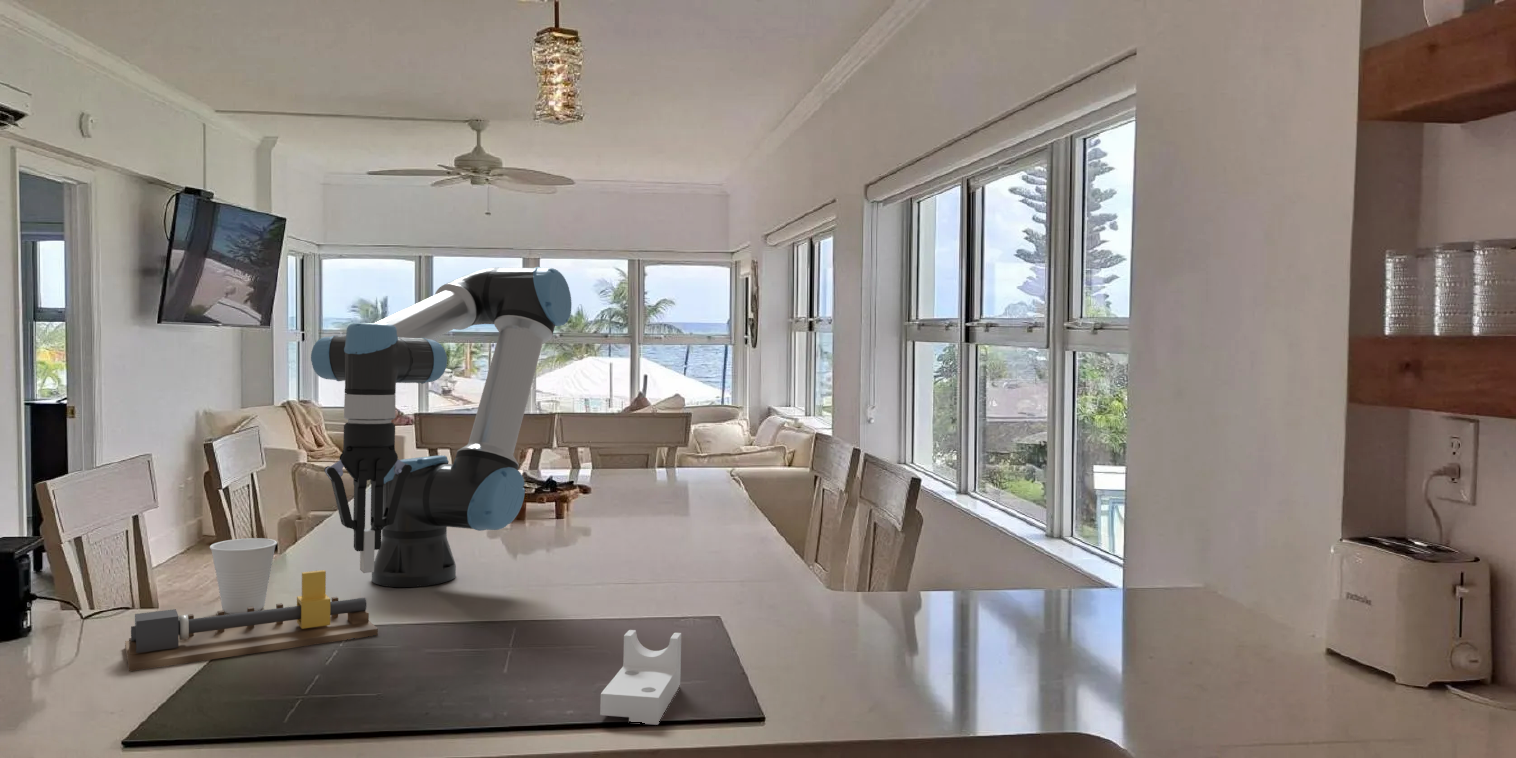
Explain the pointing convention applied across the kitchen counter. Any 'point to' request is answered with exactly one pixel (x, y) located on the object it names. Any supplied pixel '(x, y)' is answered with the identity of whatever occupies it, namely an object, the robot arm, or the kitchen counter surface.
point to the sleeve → (314, 600)
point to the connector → (160, 630)
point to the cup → (243, 572)
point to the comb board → (251, 640)
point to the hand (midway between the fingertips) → (366, 570)
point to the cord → (262, 617)
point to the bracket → (643, 681)
